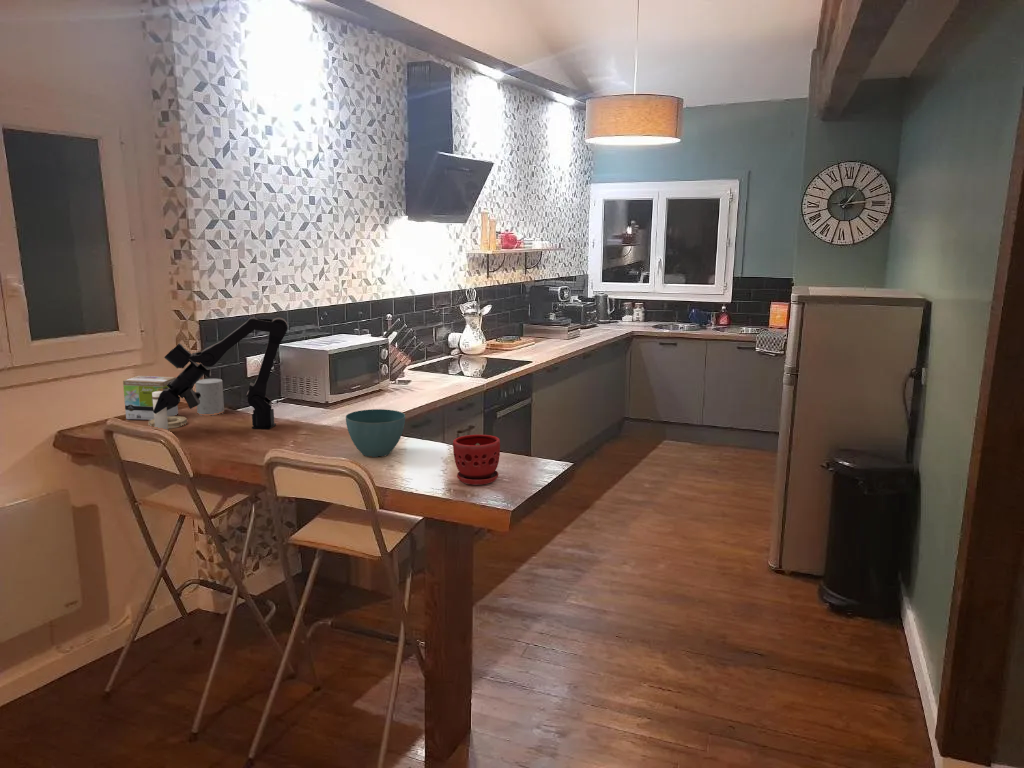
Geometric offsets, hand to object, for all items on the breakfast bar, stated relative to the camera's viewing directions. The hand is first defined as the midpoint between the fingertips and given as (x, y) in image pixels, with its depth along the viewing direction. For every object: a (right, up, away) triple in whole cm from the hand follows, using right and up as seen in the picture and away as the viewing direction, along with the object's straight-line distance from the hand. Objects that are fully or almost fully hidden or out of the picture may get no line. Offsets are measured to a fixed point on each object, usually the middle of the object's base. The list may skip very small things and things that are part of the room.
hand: (155, 411), depth 249 cm
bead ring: (-2, -5, +12) cm, 14 cm away
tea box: (-12, -3, +22) cm, 26 cm away
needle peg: (+1, -7, +2) cm, 8 cm away
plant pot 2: (+110, -18, -42) cm, 119 cm away
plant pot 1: (+78, -13, -18) cm, 81 cm away
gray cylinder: (+6, -2, +31) cm, 31 cm away
